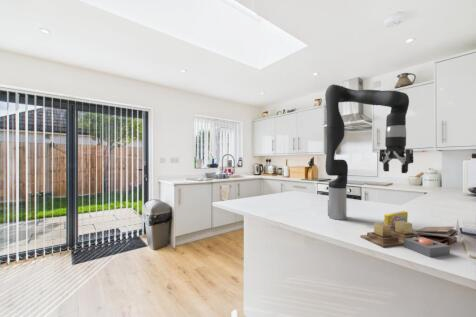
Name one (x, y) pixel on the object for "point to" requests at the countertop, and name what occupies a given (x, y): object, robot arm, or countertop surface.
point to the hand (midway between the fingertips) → (394, 172)
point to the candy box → (395, 218)
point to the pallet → (388, 239)
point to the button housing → (427, 247)
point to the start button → (425, 241)
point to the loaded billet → (382, 230)
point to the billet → (403, 228)
